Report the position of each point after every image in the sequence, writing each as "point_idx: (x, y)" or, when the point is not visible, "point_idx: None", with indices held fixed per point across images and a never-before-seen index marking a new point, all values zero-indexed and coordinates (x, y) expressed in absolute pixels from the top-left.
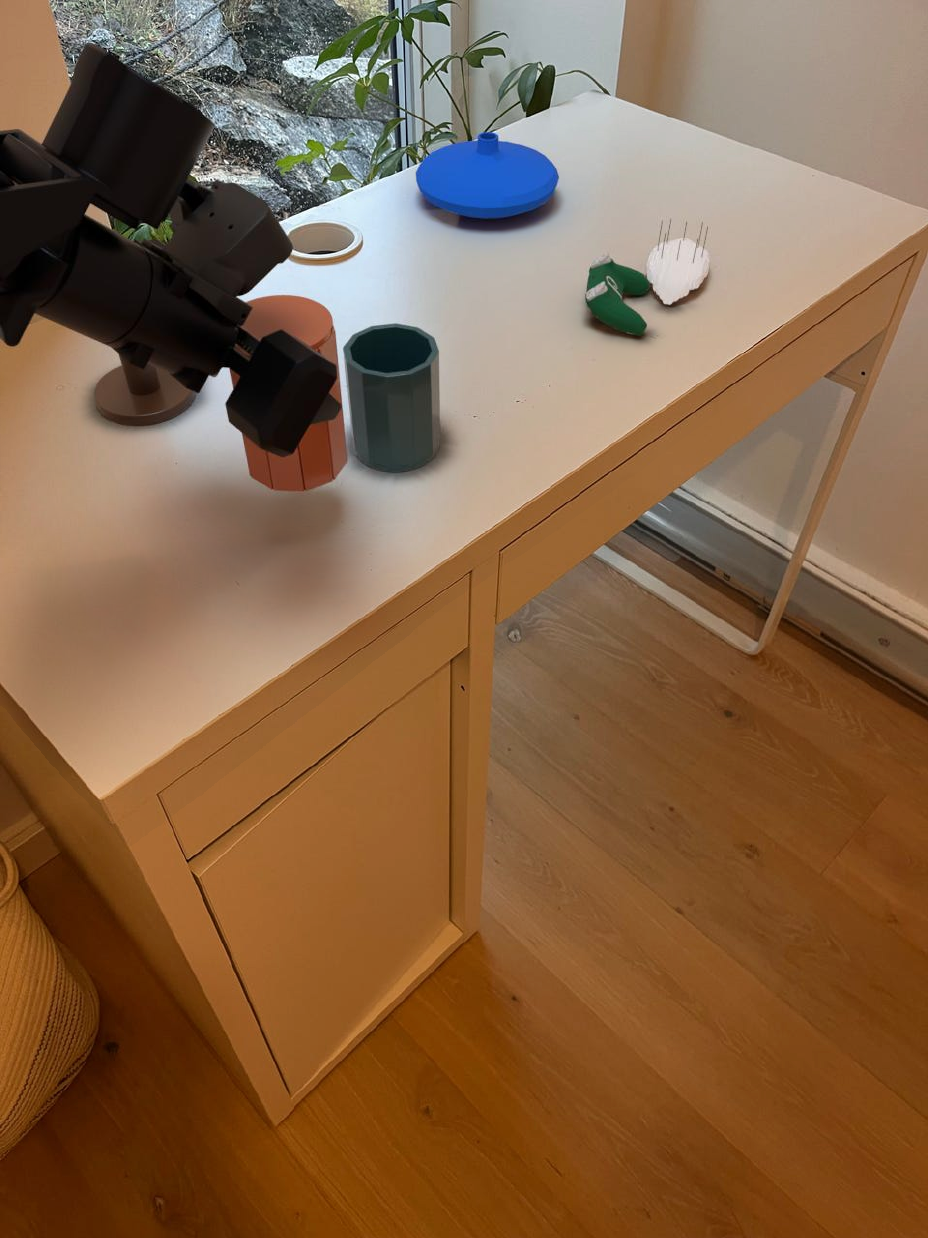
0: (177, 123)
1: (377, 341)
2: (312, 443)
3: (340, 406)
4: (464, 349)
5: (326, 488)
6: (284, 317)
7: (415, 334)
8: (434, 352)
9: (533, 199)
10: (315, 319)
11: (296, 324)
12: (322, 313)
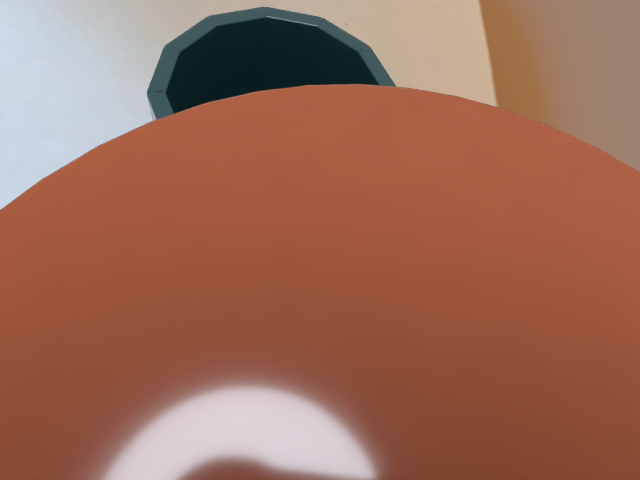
0: None
1: (188, 78)
2: None
3: None
4: (185, 14)
5: None
6: (402, 399)
7: (268, 26)
8: (367, 54)
9: None
10: (587, 247)
11: (588, 413)
12: (539, 163)
